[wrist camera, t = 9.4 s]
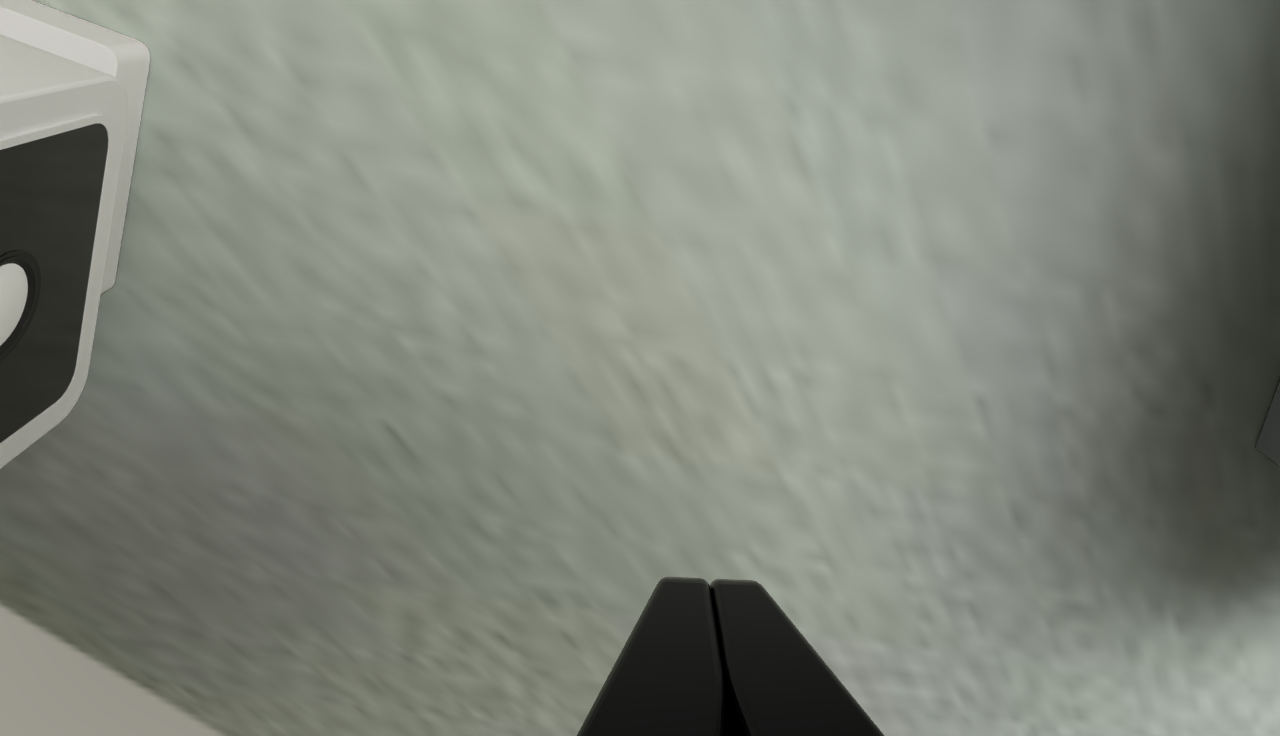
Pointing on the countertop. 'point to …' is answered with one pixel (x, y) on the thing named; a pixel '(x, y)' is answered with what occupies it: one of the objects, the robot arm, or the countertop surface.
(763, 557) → the countertop surface
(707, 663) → the robot arm
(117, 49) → the security camera
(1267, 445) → the camera body
